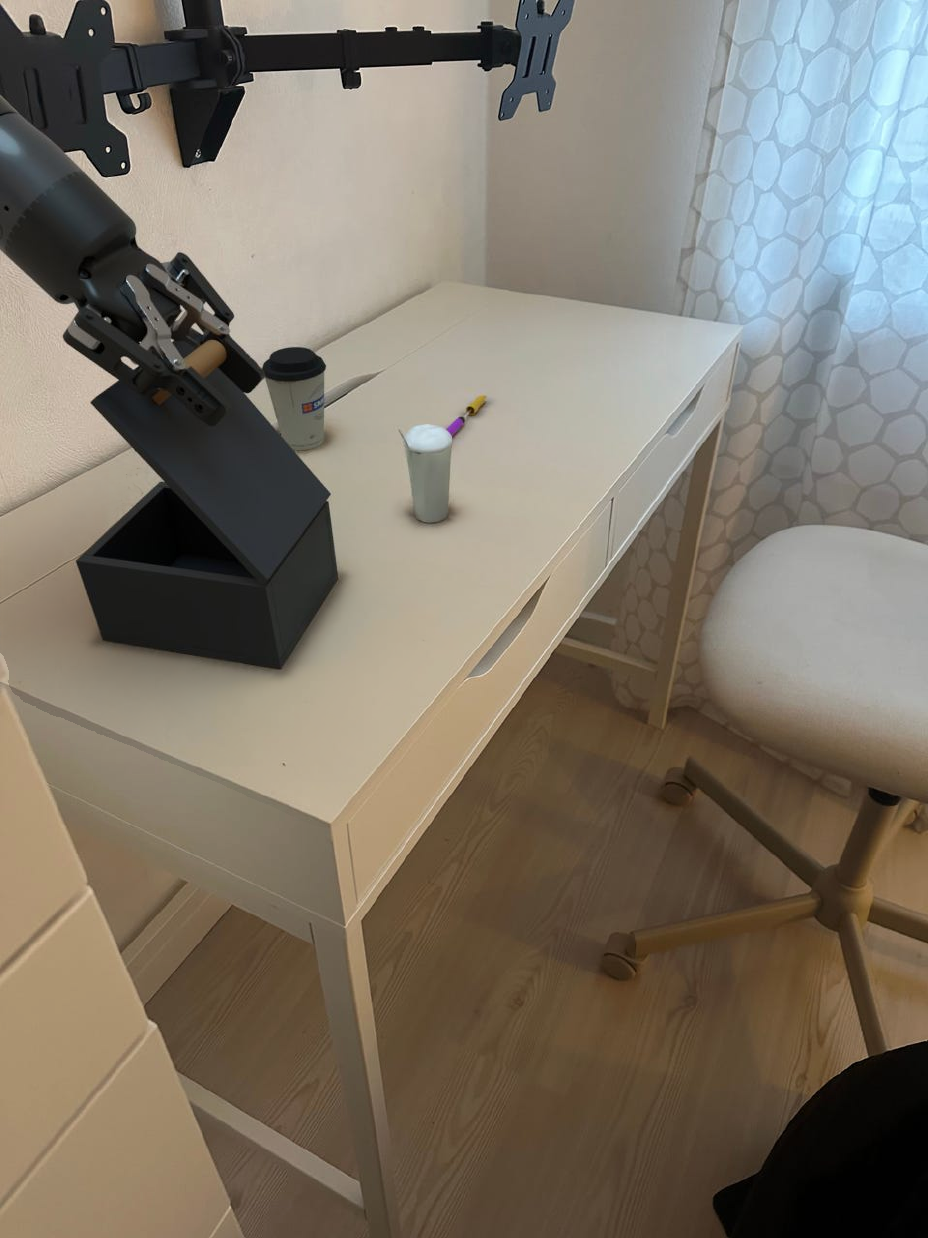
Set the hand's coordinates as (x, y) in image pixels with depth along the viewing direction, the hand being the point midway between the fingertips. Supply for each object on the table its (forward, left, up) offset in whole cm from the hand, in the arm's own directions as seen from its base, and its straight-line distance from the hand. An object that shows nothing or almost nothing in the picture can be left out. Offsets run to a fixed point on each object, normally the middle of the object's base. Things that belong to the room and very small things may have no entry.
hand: (239, 399), depth 64 cm
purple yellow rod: (+31, +23, -20) cm, 43 cm away
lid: (-2, +2, -5) cm, 5 cm away
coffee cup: (+15, +29, -20) cm, 38 cm away
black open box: (-3, +3, -19) cm, 20 cm away
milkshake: (+19, +7, -20) cm, 28 cm away
